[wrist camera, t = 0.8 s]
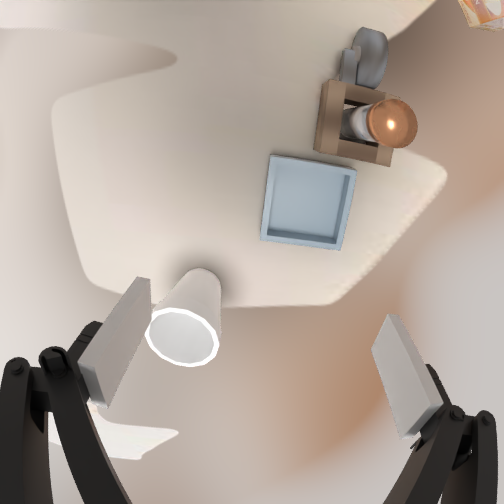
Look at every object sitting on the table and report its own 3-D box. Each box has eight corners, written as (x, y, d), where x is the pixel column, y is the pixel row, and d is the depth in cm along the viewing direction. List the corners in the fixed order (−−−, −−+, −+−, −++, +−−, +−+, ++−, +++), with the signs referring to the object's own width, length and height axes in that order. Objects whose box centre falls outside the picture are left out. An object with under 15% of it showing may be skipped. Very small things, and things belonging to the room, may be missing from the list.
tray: (270, 154, 38) (270, 156, 35) (351, 167, 38) (357, 170, 35) (260, 232, 42) (259, 240, 39) (335, 242, 42) (340, 250, 39)
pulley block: (327, 31, 30) (341, 11, 23) (390, 48, 30) (415, 34, 23) (313, 149, 37) (324, 154, 30) (376, 161, 37) (399, 170, 30)
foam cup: (232, 262, 44) (220, 313, 32) (230, 313, 48) (218, 370, 36) (170, 256, 44) (139, 302, 32) (173, 306, 48) (149, 359, 36)
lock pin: (337, 104, 34) (376, 93, 21) (368, 111, 34) (420, 107, 21) (332, 135, 36) (369, 141, 22) (363, 142, 36) (413, 153, 22)
